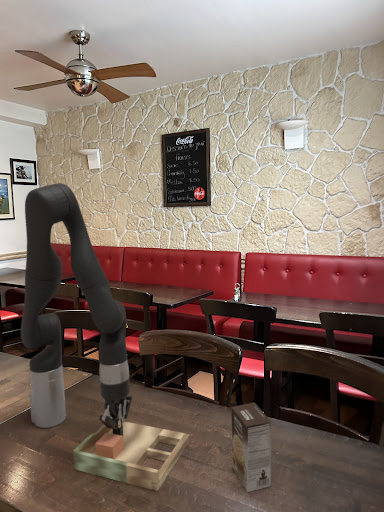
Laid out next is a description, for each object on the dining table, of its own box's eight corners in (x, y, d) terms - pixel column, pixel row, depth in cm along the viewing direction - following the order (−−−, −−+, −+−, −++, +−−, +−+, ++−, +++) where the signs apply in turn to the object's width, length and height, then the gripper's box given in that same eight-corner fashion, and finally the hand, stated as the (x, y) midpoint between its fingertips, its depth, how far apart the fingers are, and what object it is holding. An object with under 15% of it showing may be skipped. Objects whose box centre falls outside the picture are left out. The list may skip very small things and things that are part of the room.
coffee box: (231, 467, 95) (230, 405, 93) (254, 462, 97) (254, 401, 95) (246, 493, 86) (246, 426, 84) (272, 486, 88) (272, 420, 86)
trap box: (74, 469, 96) (73, 450, 95) (117, 426, 114) (116, 410, 114) (157, 491, 88) (156, 470, 87) (189, 441, 106) (189, 423, 105)
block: (96, 456, 97) (95, 443, 97) (106, 445, 102) (105, 432, 102) (113, 460, 96) (112, 447, 95) (123, 448, 101) (122, 435, 100)
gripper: (113, 390, 94) (117, 456, 96) (139, 368, 106) (142, 427, 108) (87, 386, 96) (92, 450, 98) (115, 365, 109) (119, 423, 111)
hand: (118, 438), depth 103 cm, fingers closed
